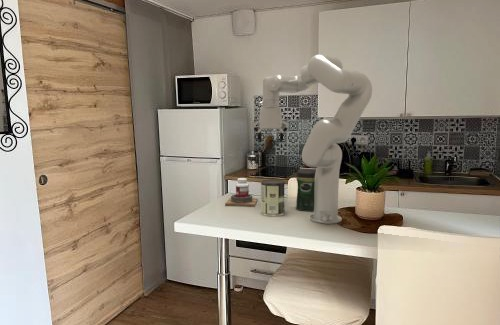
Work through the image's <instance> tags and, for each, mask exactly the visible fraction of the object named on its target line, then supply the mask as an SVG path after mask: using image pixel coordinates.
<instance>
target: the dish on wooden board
mask: <svg viewBox="0 0 500 325" xmlns="http://www.w3.org/2000/svg"><path fill="white" fill-rule="evenodd" d="M257 203H258V198H255V197H254V198H253V195H252V194H249V197H245V198H237V197H236V193H235V194H231V196H230V197H229V198H228V200H227V201H226V202H225V204H224V207H246V208H248V207H249V208H251V207H252V208H253V207H255V206H256V204H257Z"/></svg>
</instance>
